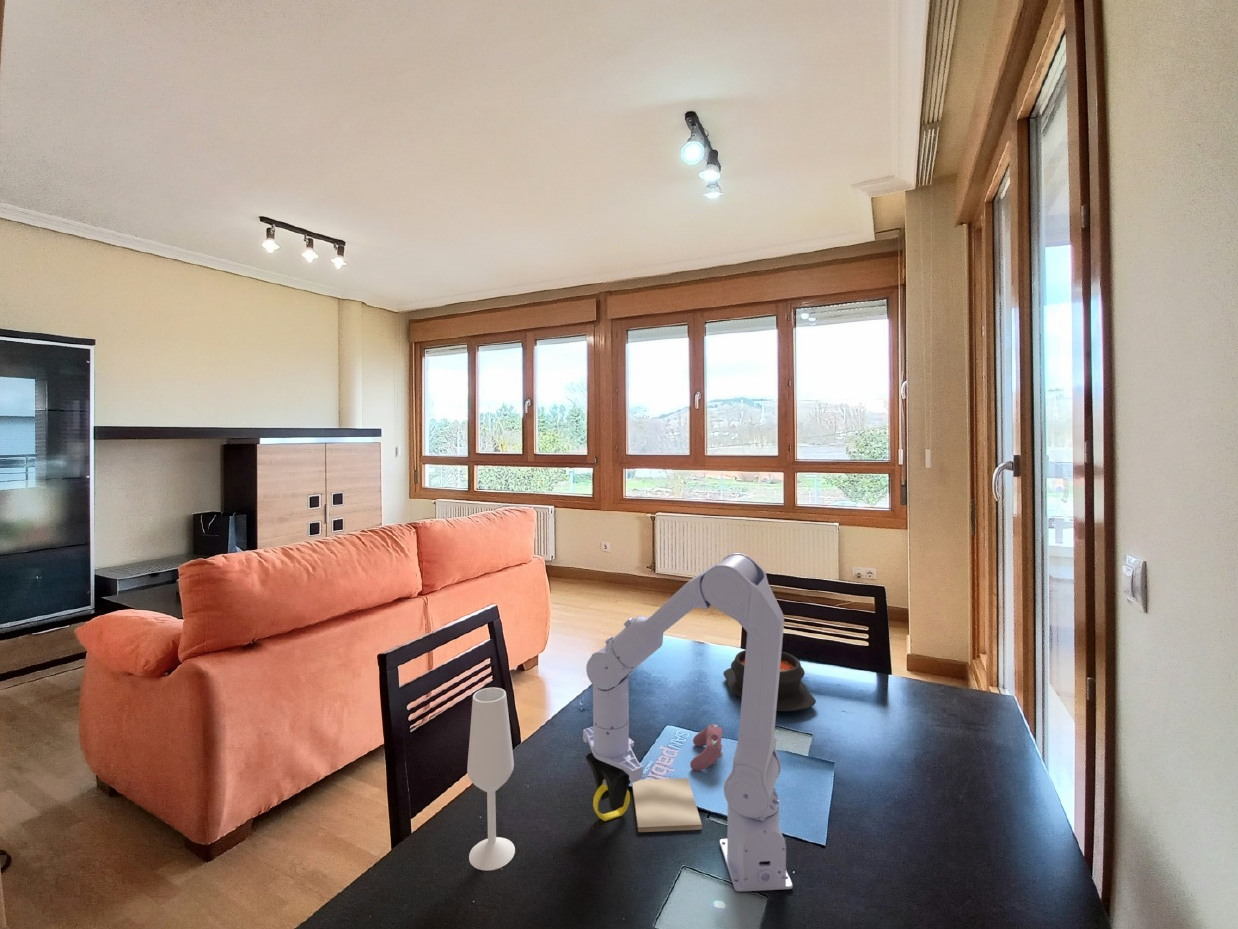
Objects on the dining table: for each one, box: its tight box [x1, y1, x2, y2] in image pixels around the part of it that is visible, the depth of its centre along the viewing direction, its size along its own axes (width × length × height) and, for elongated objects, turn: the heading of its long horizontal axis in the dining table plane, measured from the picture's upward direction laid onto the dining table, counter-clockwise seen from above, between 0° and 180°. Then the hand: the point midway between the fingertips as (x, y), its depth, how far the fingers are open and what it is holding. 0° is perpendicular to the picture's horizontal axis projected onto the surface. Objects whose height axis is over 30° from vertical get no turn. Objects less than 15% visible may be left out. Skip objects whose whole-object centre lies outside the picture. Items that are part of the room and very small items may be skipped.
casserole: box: [723, 649, 817, 712], centre depth 134 cm, size 25×19×8 cm
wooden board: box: [631, 777, 703, 833], centre depth 94 cm, size 12×10×1 cm
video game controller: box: [689, 722, 724, 772], centre depth 107 cm, size 10×5×7 cm, turn 169°
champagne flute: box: [466, 687, 516, 871], centre depth 83 cm, size 7×7×24 cm
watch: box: [592, 779, 631, 822], centre depth 91 cm, size 6×3×6 cm, turn 115°
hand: (611, 802), depth 91 cm, fingers closed on watch, 3 cm apart
